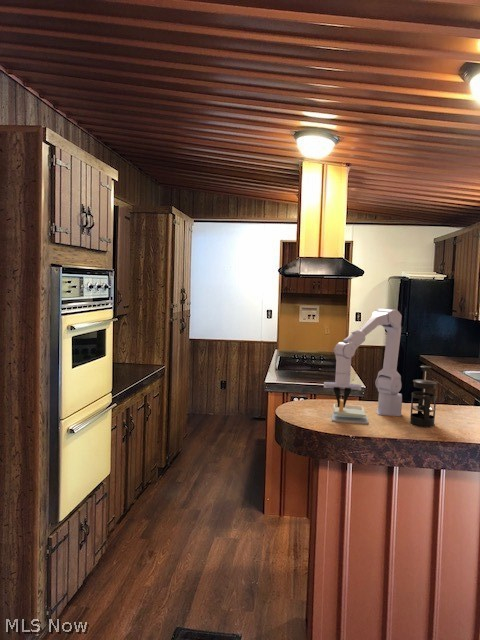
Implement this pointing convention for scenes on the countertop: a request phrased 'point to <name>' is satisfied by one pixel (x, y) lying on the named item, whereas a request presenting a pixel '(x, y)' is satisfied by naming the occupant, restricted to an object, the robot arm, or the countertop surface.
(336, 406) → the tub
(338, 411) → the lid
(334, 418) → the mat
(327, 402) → the countertop surface
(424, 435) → the countertop surface
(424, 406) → the french press
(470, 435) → the countertop surface
